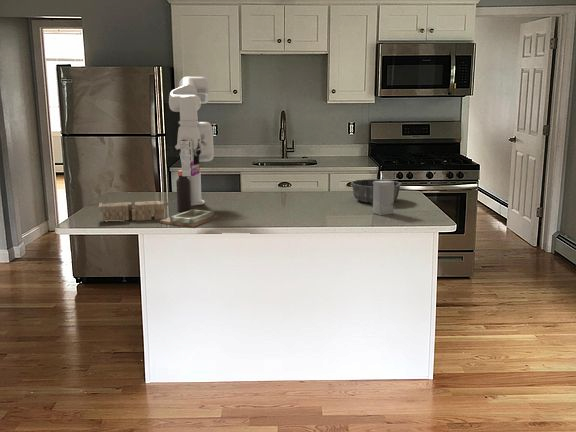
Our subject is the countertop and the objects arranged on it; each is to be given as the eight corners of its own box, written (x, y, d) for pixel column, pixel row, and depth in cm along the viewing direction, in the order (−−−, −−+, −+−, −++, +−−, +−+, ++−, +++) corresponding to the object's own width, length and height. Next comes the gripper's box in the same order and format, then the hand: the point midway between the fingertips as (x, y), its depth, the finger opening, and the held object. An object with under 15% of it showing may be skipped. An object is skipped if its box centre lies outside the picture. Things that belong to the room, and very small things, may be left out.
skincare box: (380, 215, 298) (381, 182, 294) (371, 212, 304) (372, 180, 300) (394, 213, 301) (395, 181, 298) (385, 211, 308) (386, 179, 304)
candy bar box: (189, 172, 289) (188, 137, 286) (200, 173, 288) (198, 137, 285) (181, 176, 279) (179, 139, 275) (191, 176, 278) (190, 140, 274)
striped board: (159, 223, 284) (159, 216, 283) (185, 214, 302) (184, 208, 301) (193, 227, 277) (192, 219, 276) (217, 217, 294) (216, 211, 293)
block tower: (163, 217, 300) (99, 219, 293) (162, 200, 299) (99, 201, 291) (164, 221, 293) (99, 223, 285) (164, 203, 291) (98, 205, 284)
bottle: (185, 212, 307) (183, 172, 302) (174, 210, 310) (172, 170, 306) (194, 209, 312) (192, 170, 308) (183, 208, 316) (182, 169, 312)
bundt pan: (370, 194, 352) (371, 176, 350) (410, 200, 334) (411, 182, 331) (340, 201, 334) (340, 182, 331) (380, 208, 315) (381, 188, 313)
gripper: (167, 123, 279) (169, 164, 283) (200, 125, 272) (201, 166, 276) (177, 122, 286) (179, 162, 290) (209, 123, 278) (211, 164, 282)
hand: (190, 163), depth 283 cm, fingers closed on candy bar box, 5 cm apart
